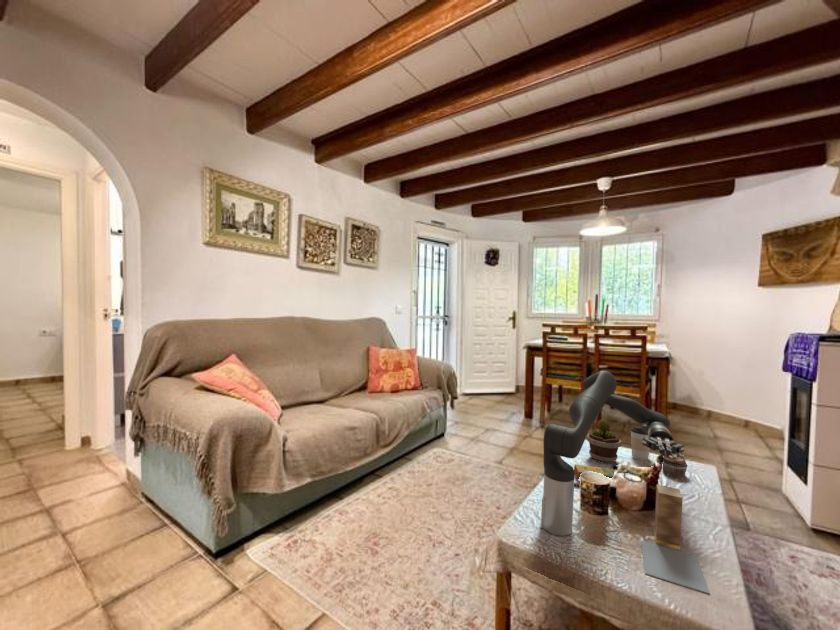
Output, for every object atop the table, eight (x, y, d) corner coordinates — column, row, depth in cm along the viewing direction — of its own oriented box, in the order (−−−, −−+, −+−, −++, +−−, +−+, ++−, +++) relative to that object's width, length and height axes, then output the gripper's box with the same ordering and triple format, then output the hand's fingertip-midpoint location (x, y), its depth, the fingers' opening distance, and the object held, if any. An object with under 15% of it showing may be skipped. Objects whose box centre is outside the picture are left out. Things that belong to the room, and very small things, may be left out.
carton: (573, 473, 161) (574, 463, 160) (613, 478, 157) (614, 468, 157) (577, 481, 152) (578, 471, 152) (619, 487, 149) (620, 476, 149)
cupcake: (655, 471, 164) (657, 448, 164) (668, 467, 169) (669, 445, 168) (679, 480, 156) (680, 457, 155) (691, 476, 160) (692, 453, 160)
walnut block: (656, 543, 113) (658, 492, 112) (654, 533, 118) (656, 484, 118) (679, 550, 110) (682, 497, 110) (676, 539, 115) (679, 489, 115)
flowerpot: (619, 469, 165) (621, 425, 164) (582, 460, 173) (584, 418, 173) (622, 458, 177) (624, 417, 176) (587, 450, 185) (589, 411, 185)
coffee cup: (630, 451, 186) (631, 422, 185) (651, 456, 180) (653, 426, 180) (628, 457, 178) (629, 427, 178) (650, 462, 173) (651, 431, 173)
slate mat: (645, 574, 100) (645, 573, 100) (641, 541, 114) (641, 540, 114) (709, 594, 93) (709, 593, 93) (696, 556, 107) (697, 555, 107)
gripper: (639, 424, 141) (643, 438, 126) (682, 430, 135) (691, 446, 120) (638, 443, 142) (642, 459, 126) (681, 450, 135) (689, 468, 120)
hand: (665, 453), depth 123 cm, fingers closed
